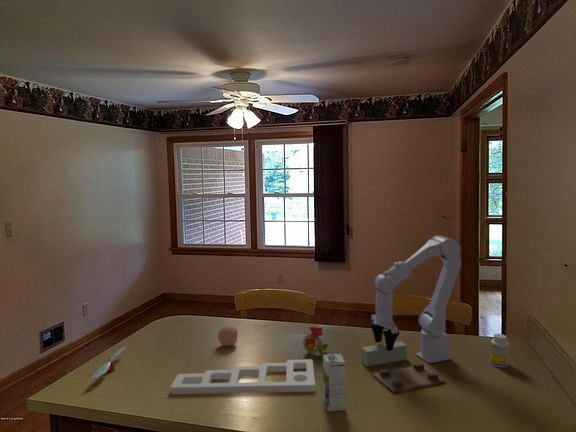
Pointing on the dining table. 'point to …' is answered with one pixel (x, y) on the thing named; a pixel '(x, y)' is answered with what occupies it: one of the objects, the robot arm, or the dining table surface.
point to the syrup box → (333, 382)
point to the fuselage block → (383, 354)
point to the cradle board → (408, 378)
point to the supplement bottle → (500, 351)
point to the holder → (253, 387)
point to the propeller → (107, 365)
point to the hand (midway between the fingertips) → (383, 346)
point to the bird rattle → (311, 343)
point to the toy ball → (228, 336)
